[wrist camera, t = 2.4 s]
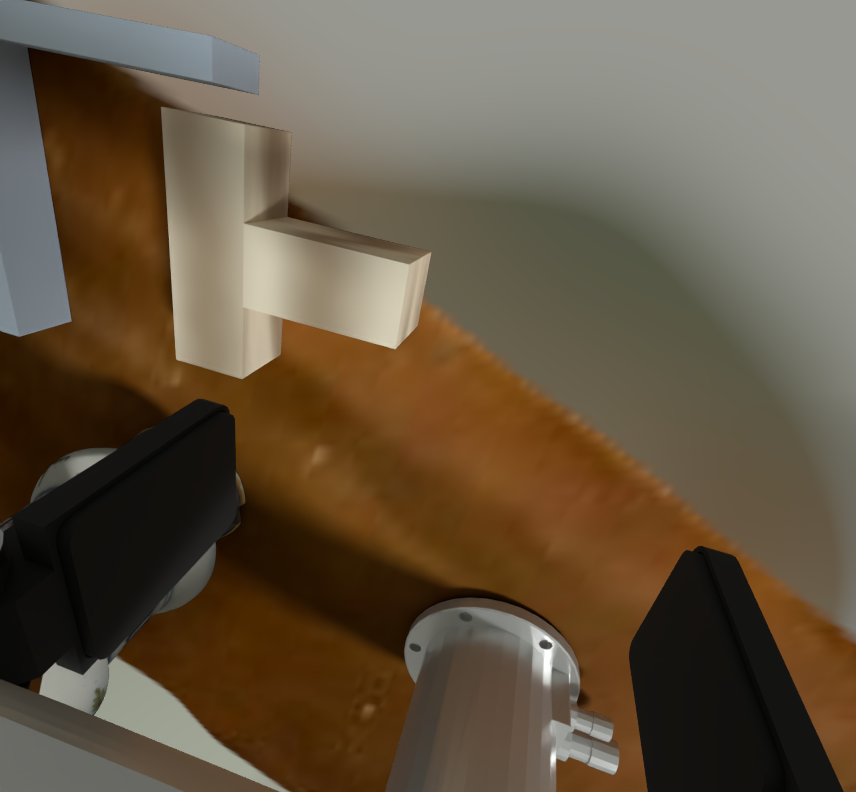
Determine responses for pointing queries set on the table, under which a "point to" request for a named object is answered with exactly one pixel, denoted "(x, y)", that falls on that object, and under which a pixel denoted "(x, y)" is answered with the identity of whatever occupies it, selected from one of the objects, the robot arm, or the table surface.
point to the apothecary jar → (93, 684)
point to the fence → (23, 147)
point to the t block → (267, 253)
